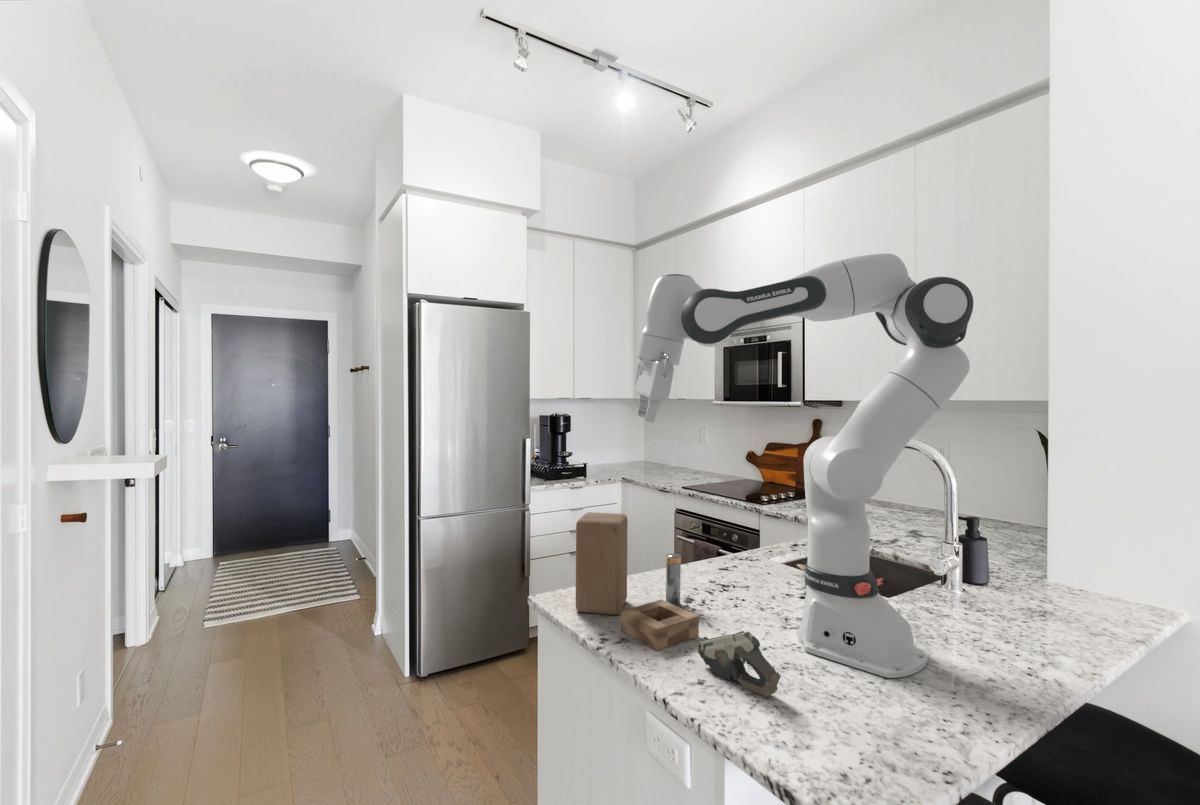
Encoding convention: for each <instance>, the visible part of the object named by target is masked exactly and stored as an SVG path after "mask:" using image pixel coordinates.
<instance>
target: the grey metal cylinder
mask: <svg viewBox="0 0 1200 805" xmlns="http://www.w3.org/2000/svg"><path fill="white" fill-rule="evenodd" d="M665 563H666V564H665V601H666V602H668V603H671V604H673V605H675V606H677V607H680V606H681V567H682V566H681V564H682V555H680V554H679V553H667V554H666V555H665ZM679 605H680V606H679Z"/></svg>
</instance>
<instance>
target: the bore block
mask: <svg viewBox="0 0 1200 805" xmlns="http://www.w3.org/2000/svg"><path fill="white" fill-rule="evenodd" d="M620 617H621V619H620V624H621V625H620V631H621V632H623V633H624V632H625V634H626V633H627V635H628V634H629V635H628V636H630V635H631V636H630V637H632V636H633V637H634V639H635V638H636V639H635V640H637V639H638V640H637V641H639V642H641V643H642V642H643V644H644V643H645V644H644V645H646V644H647V645H646V646H647V647H650V648H651V647H652V649H653V650H655V649H656V650H655V651H657V650H658V651H661V650H663V649H666V648H668V647H672V646H675V645H678V644H680V643H683V642H686V640H687V641H690V640H692V639H695V638H697V637H699V634H700V629H699V628H700V627H699V625H700V616H699V615H697V614H695V613H693V612H692V611H688V610H687V609H685V608H684V609H683V608H682V607H680V606H675V605H673V604H671V603H668V602H666V600H664V599H659V600H655V601H652V602H648V603H645V604H641V605H638V606H634V607H631V608H630V607H629V608H626V609H624V610H623V609H622V610H621V612H620ZM633 637H632V638H633ZM677 643H678V644H677ZM674 644H675V645H674ZM671 645H672V646H671ZM665 647H666V648H665ZM660 649H661V650H660Z"/></svg>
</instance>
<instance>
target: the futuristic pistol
mask: <svg viewBox="0 0 1200 805" xmlns="http://www.w3.org/2000/svg"><path fill="white" fill-rule="evenodd" d="M700 639H701V640H700V643H699V644H697V654H698V655H699V656H700V658H701V659H702V660H703V662H704V663H705V666H709V668H710V672H711V673H713V674H714V675H715V676H716V677H719V678H721V679H723V680H725V681H729V682H732V681H736V682H738V683H739V684H740V685H741V686H742V687H743V689H744V690H745V689H746V690H747V691H749V692H752V693H753V694H756V695H758V696H761V697H762V696H763V697H765V698H766V697H769V696H771V695H774V694H775V693H776V692H777V691H778V690H779V689H778V684H779V682H780V679H781V675H780V673H779V672H778V671H777V670H776V669H775V668H774V667H773V666H772V664H770V663H769V661H768V660H767V659H766V658H765V656H764V655H763V654H762V652H761V650H760V647H761V643H760V641H759V639H758V638H757V637H756V636H755V635H753V634H752V633H750V631H744V630H742V631H740V632H737V633H732V634H726V635H722V636H717V637H713V638H712V637H711V638H709V637H708V636H704V637H700ZM745 664H747V665H749V666H751V667H752V669H753V670H754V672H755V673H756V674H757V676H758V677H759V678H757V677H756V676H753V675H750V674H749V673H748V672H747V670H746V667H745Z"/></svg>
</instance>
